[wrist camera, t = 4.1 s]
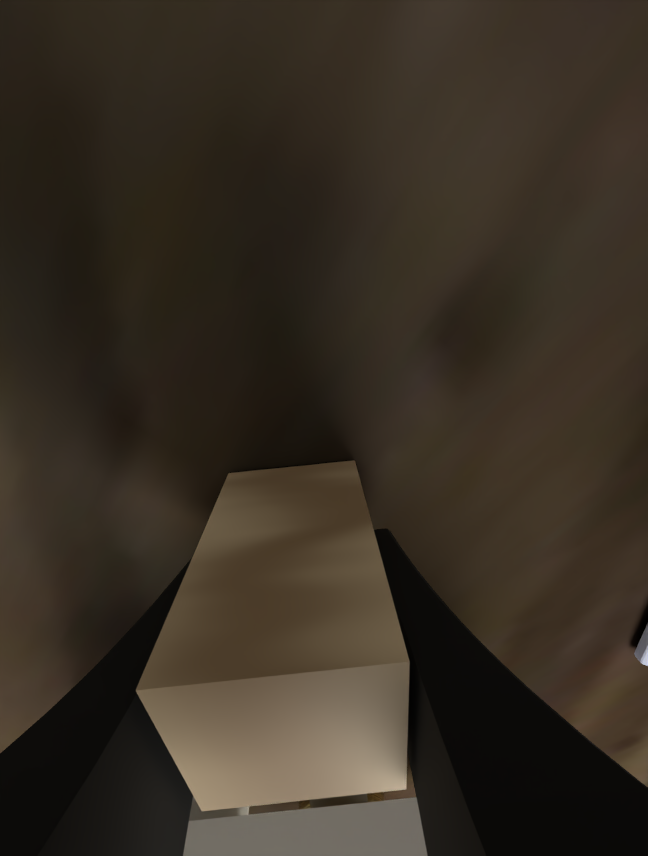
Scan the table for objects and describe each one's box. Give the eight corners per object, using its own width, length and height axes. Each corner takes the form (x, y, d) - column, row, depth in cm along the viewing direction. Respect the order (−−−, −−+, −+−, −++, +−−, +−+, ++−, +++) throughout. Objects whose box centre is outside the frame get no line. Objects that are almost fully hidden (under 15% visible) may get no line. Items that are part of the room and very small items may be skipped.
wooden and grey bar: (355, 460, 10) (409, 661, 5) (373, 770, 18) (401, 978, 13) (228, 473, 10) (135, 689, 5) (302, 777, 18) (299, 990, 13)
